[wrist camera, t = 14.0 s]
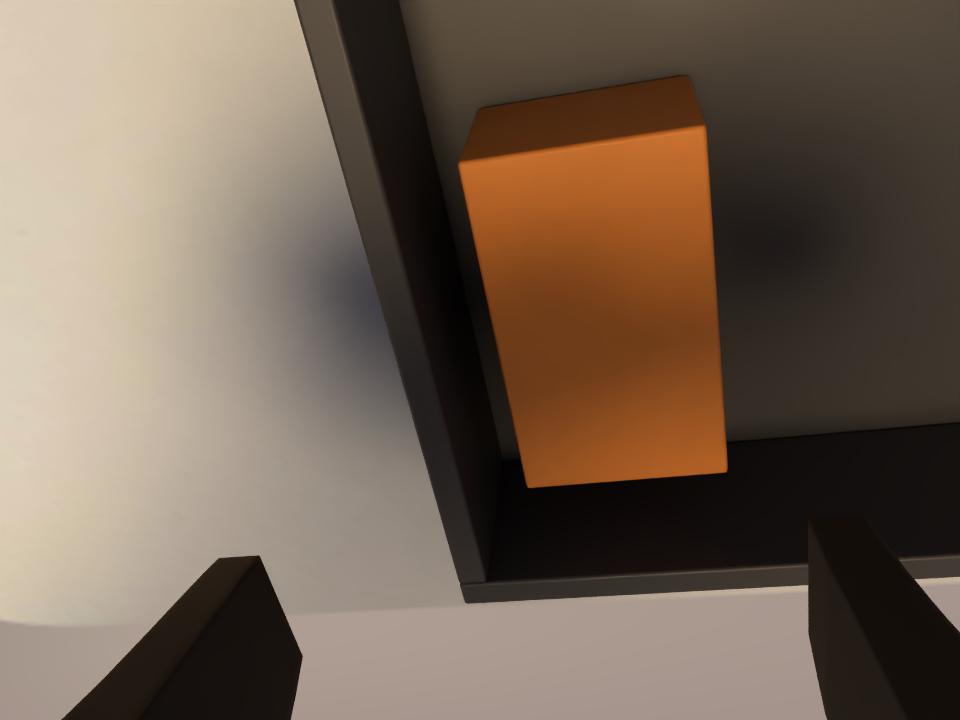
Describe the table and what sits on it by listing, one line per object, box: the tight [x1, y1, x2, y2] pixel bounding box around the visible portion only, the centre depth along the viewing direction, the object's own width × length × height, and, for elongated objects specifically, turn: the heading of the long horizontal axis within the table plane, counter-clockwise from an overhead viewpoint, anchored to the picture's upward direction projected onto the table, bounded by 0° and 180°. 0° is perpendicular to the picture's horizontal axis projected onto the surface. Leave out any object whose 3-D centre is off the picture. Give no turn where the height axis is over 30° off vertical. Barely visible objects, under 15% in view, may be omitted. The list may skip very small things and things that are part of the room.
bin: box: [294, 0, 960, 604], centre depth 15 cm, size 16×19×4 cm
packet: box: [458, 75, 728, 488], centre depth 17 cm, size 4×7×3 cm, turn 11°
